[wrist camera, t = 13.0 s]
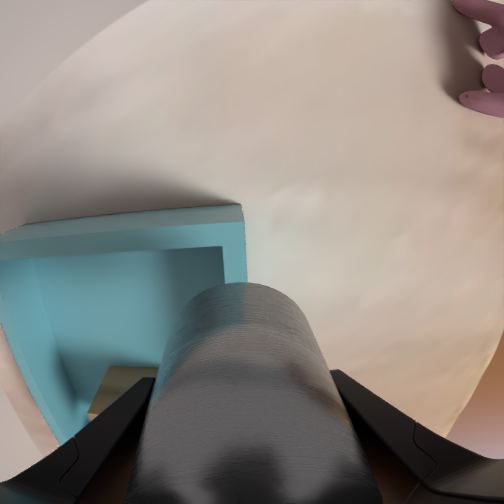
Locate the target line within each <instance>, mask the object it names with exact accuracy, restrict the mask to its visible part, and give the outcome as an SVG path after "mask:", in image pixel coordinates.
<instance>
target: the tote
mask: <svg viewBox="0 0 504 504" xmlns="http://www.w3.org/2000/svg"><path fill="white" fill-rule="evenodd" d="M236 282H247V283H248V281H247V261H246V241H245V221H244V217H243V212H242V207H241V204H234V205H217V206H202V207H188V208H174V209H162V210H150V211H139V212H128V213H118V214H108V215H98V216H89V217H80V218H72V219H63V220H55V221H47V222H40V223H32V224H25V225H22V226H19V227H17V228H15V229H12V230H10V231H8V232H6V233H4V234H1V235H0V322H1V324H2V327H3V330H4V333H5V335H6V338H7V341H8V343H9V346H10V348H11V351H12V353H13V355H14V358H15V360H16V362H17V365H18V367H19V369H20V371H21V374H22V376H23V378H24V380H25V382H26V384H27V386H28V388H29V390H30V392H31V394H32V396H33V398H34V400H35V402H36V404H37V406H38V408H39V410H40V411H41V413H42V415H43V417H44V419H45V420H46V422H47V424H48V426H49V427H50V429H51V431H52V432H53V434H54V436H55V437H56V439H57V440H58V442H59V444H60V445H63V444H64V443H65V442H66V441H68V440H69V439H70V438H71V437H74V435H75V434H76V433H77V432H79V431H80V430H81V429H82V428H83V427H84V426H86V425H87V424H88V423H89V422H90V419H89V416H88V414H87V412H88V410H89V408H90V405H91V403H92V401H93V399H94V397H95V395H96V393H97V390H98V388H99V386H100V384H101V382H102V380H103V378H104V376H105V374H106V372H107V370H108V368H109V366H121V367H157V368H159V366H160V363H161V359H162V356H163V352H164V349H165V346H166V343H167V339H168V336H169V333H170V330H171V326H172V324H173V321H174V319H175V317H176V316H177V314H178V312H179V311H180V310H181V308H182V307H183V306H184V305H185V304H186V303H187V302H188V301H189V300H190V299H192V298H193V297H194V296H196V295H197V294H199V293H201V292H203V291H205V290H207V289H209V288H212V287H215V286H218V285H222V284H227V283H236Z"/></svg>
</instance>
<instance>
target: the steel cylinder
mask: <svg viewBox="0 0 504 504" xmlns="http://www.w3.org/2000/svg"><path fill="white" fill-rule="evenodd" d="M124 504H383V497H382V495H381V492H380V490H379V487H378V485H377V482H376V480H375V477H374V475H373V472H372V470H371V468H370V465H369V463H368V460H367V458H366V455H365V453H364V451H363V448H362V446H361V443H360V441H359V439H358V436H357V434H356V431H355V429H354V427H353V424H352V422H351V420H350V417H349V415H348V413H347V410H346V408H345V406H344V403H343V401H342V399H341V396H340V394H339V392H338V389H337V387H336V385H335V382H334V380H333V378H332V375H331V373H330V371H329V368H328V366H327V364H326V362H325V359H324V357H323V355H322V352H321V350H320V348H319V346H318V343H317V341H316V339H315V337H314V334H313V332H312V330H311V328H310V325H309V323H308V321H307V319H306V317H305V315H304V313H303V312H302V310H301V309H300V308H299V306H298V305H297V304H296V303H295V302H294V301H293V300H291V299H290V298H289V297H288V296H286V295H285V294H283V293H281V292H279V291H278V290H275V289H273V288H271V287H268V286H264V285H261V284H255V283H247V282H236V283H227V284H222V285H218V286H215V287H212V288H209V289H207V290H205V291H203V292H201V293H199V294H197V295H196V296H194V297H193V298H192V299H190V300H189V301H188V302H187V303H186V304H185V305H184V306H183V307H182V308H181V310H180V311H179V312H178V314H177V316H176V317H175V319H174V321H173V324H172V326H171V330H170V333H169V336H168V339H167V343H166V346H165V349H164V352H163V356H162V359H161V363H160V366H159V369H158V373H157V376H156V380H155V383H154V387H153V390H152V394H151V397H150V401H149V405H148V408H147V412H146V416H145V419H144V423H143V427H142V431H141V435H140V438H139V442H138V446H137V450H136V454H135V458H134V462H133V467H132V471H131V475H130V479H129V483H128V488H127V492H126V497H125V501H124Z"/></svg>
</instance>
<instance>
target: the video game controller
mask: <svg viewBox="0 0 504 504" xmlns="http://www.w3.org/2000/svg"><path fill="white" fill-rule="evenodd" d="M453 6H454V8H455V9H456V10H458V11H459V12H460V13H462V14H464V15H466V16H468V17H470V18H473V19H475V20H478V21H480V22H483V23H486V24H489V25H491V26H492V28H490V29H489V30H487V31H485V32H483V33H482V34H481V35H480V37H479V43H480V45H481V47H482V49H483V50H484V52H485V53H486V54H487V55H488V56H489V57H490V58H492V59H496V60H498V59H502V58H504V5H503V4H499V3H496V2H492V1H488V0H454V1H453ZM482 81H483V83H484V85H485V86H486V88H487V89H488V90H489V91H490V92H491V93H489V92H482V91H475V90H474V91H466V92H463V93H461V94H460V95H459V101H460V102H461V103H462V104H463V105H464V106H465V107H467V108H469V109H471V110H474V111H476V112H480V113H483V114H487V115H492V116H496V117H501V118H504V69H503V68H502V67H500V66H498V65H495V64H490V65H487V66H486V67H485V68H484V70H483V72H482Z"/></svg>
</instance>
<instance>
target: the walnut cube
mask: <svg viewBox="0 0 504 504" xmlns="http://www.w3.org/2000/svg"><path fill="white" fill-rule="evenodd" d="M158 369H159V368H157V367H121V366H109V368H108V370H107V372H106V374H105V376H104V378H103V380H102V382H101V384H100V386H99V388H98V390H97V393H96V395H95V397H94V399H93V401H92V403H91V405H90V408H89V410H88V412H87V414H88V416H89V419H90V421H92V420H93V419H94V418H95V417H96V416H98V415H99V414H100V413H101V412H102V411H103V410H105V409H106V408H107V407H108V406H109V405H110V404H112V403H113V402H114V401H115V400H116V399H118V398H119V397H120V396H121V395H122V394H123V393H125V392H126V391H127V390H128V389H129V388H130V387H132V386H133V385H134V384H135V383H136V382H137V381H138V380H140V379H141V378H142V377H145V376H147V377H156V376H157V373H158Z"/></svg>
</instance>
